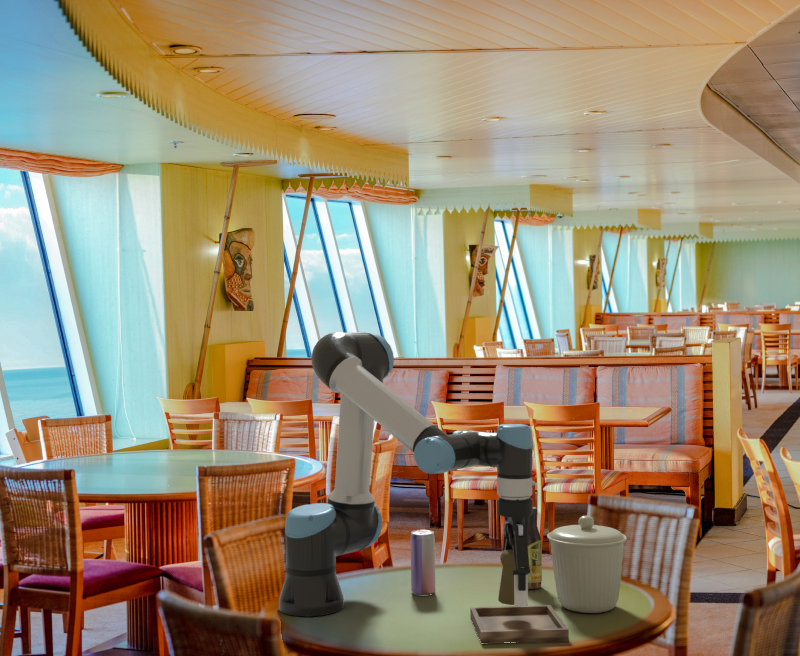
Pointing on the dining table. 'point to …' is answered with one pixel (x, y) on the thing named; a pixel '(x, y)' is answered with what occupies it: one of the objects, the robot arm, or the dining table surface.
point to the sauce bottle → (534, 551)
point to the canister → (587, 565)
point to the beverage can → (422, 562)
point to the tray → (518, 624)
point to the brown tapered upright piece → (507, 578)
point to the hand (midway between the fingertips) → (515, 596)
